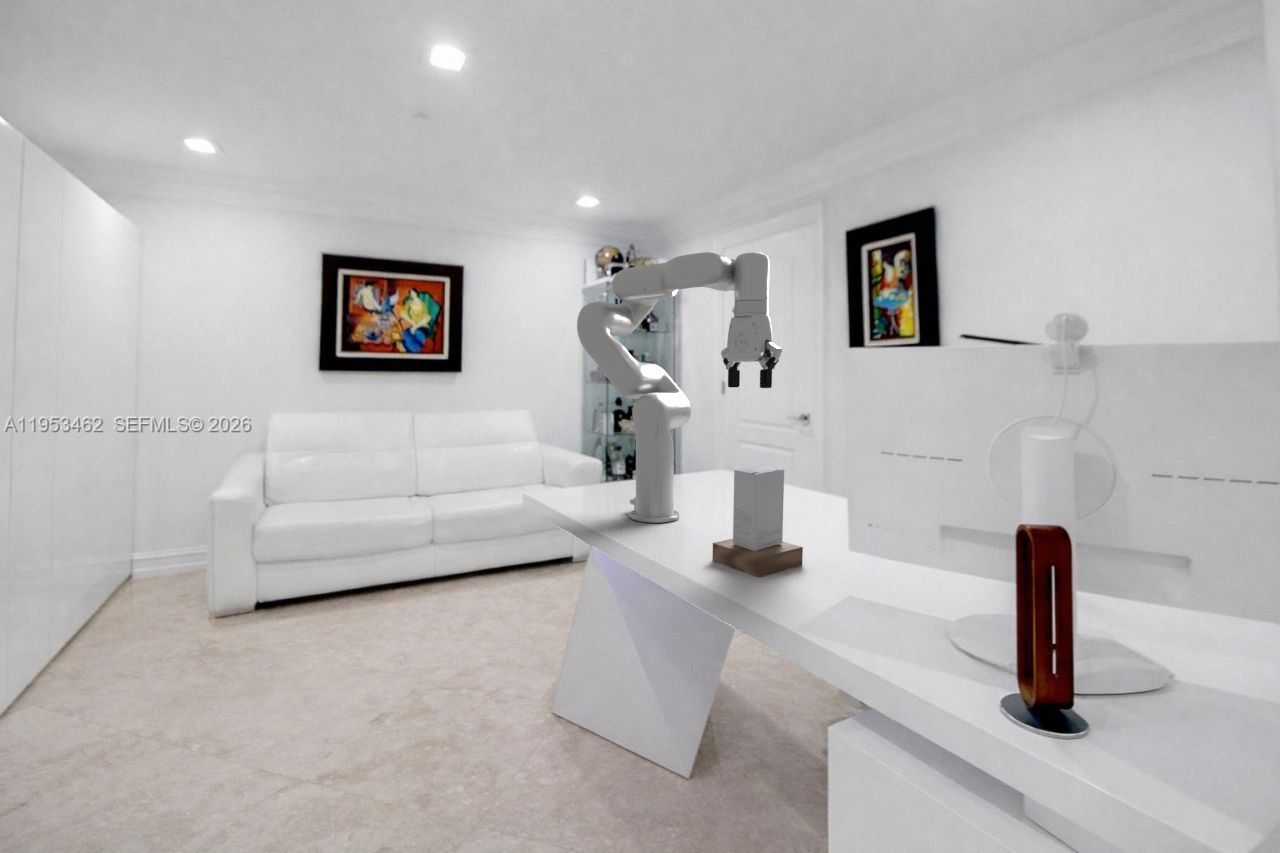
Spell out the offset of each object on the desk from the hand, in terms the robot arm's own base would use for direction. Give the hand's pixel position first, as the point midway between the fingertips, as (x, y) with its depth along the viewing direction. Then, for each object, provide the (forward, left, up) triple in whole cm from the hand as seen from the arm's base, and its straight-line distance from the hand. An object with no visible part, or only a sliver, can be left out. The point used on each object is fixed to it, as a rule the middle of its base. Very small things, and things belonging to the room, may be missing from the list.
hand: (749, 387), depth 136 cm
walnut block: (+17, -15, -33) cm, 40 cm away
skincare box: (+17, -15, -30) cm, 38 cm away
